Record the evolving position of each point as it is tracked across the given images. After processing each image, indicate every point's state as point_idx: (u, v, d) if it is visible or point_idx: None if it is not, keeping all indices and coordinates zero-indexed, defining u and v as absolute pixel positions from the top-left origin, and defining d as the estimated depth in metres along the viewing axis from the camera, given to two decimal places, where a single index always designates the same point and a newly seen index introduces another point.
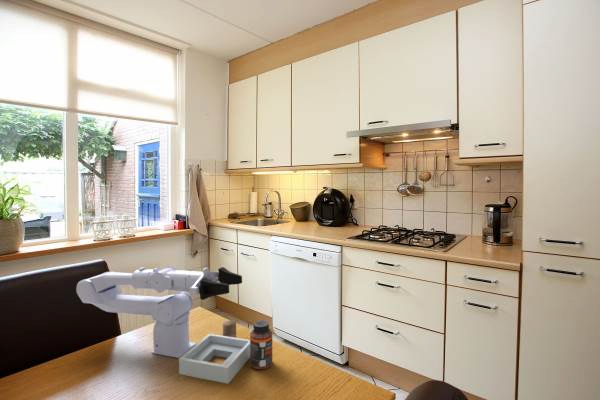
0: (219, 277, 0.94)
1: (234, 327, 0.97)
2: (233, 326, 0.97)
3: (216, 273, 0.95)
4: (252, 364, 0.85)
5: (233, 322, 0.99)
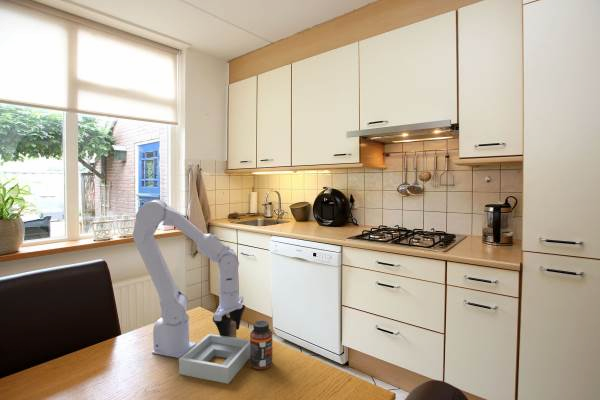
0: None
1: (234, 327, 0.97)
2: (233, 326, 0.97)
3: None
4: (252, 364, 0.85)
5: (233, 322, 0.99)
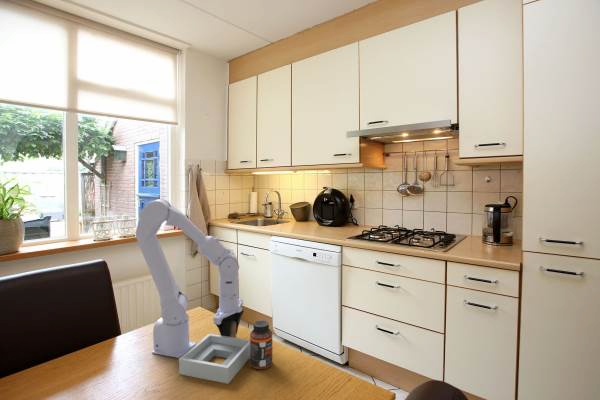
0: None
1: (234, 327, 0.97)
2: (233, 326, 0.97)
3: None
4: (252, 364, 0.85)
5: (233, 322, 0.99)
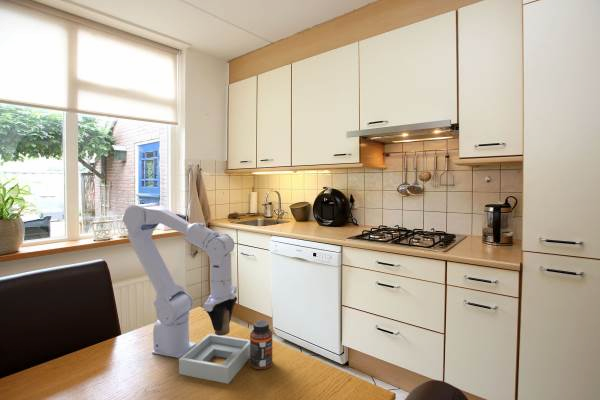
0: None
1: (227, 315, 0.90)
2: (226, 314, 0.89)
3: None
4: (252, 364, 0.85)
5: (226, 310, 0.91)
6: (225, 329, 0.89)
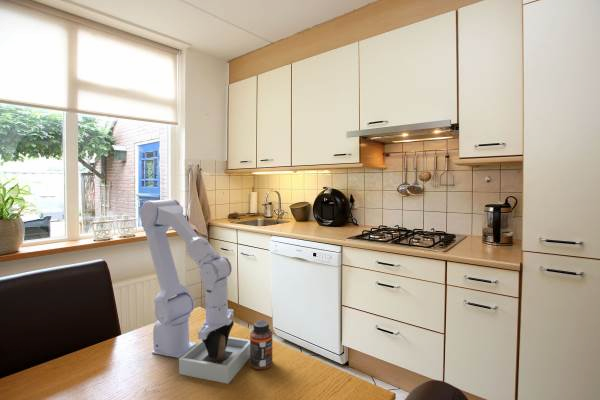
0: None
1: (223, 342, 0.86)
2: (222, 341, 0.86)
3: None
4: (252, 364, 0.85)
5: (222, 335, 0.88)
6: (221, 356, 0.86)
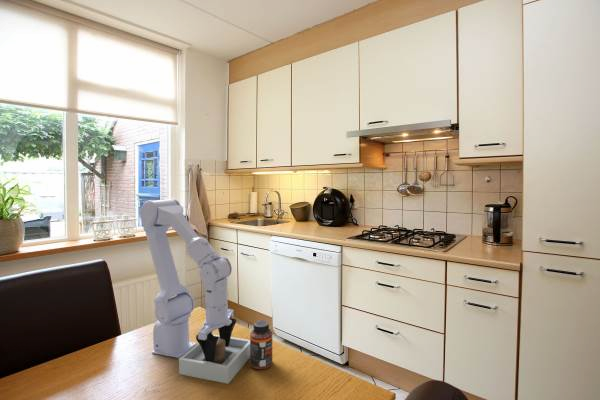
0: None
1: (223, 347, 0.86)
2: (222, 346, 0.86)
3: None
4: (252, 364, 0.85)
5: (222, 340, 0.88)
6: (221, 361, 0.86)
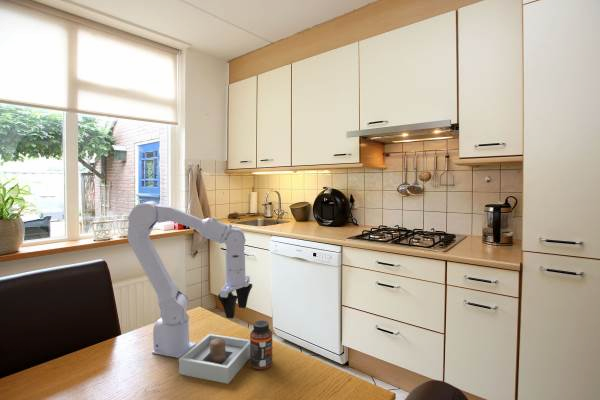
0: None
1: (223, 347, 0.86)
2: (222, 346, 0.86)
3: None
4: (252, 364, 0.85)
5: (222, 340, 0.88)
6: (221, 361, 0.86)
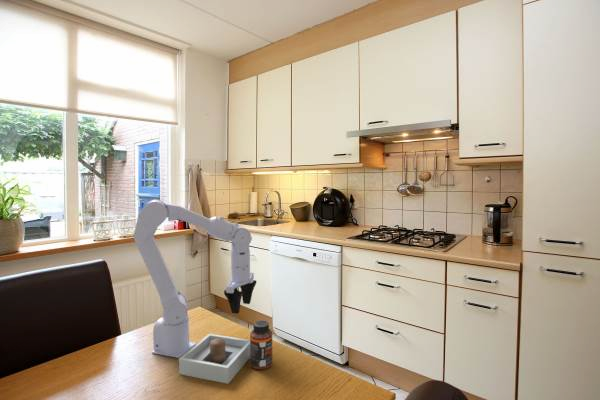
0: None
1: (223, 347, 0.86)
2: (222, 346, 0.86)
3: None
4: (252, 364, 0.85)
5: (222, 340, 0.88)
6: (221, 361, 0.86)
